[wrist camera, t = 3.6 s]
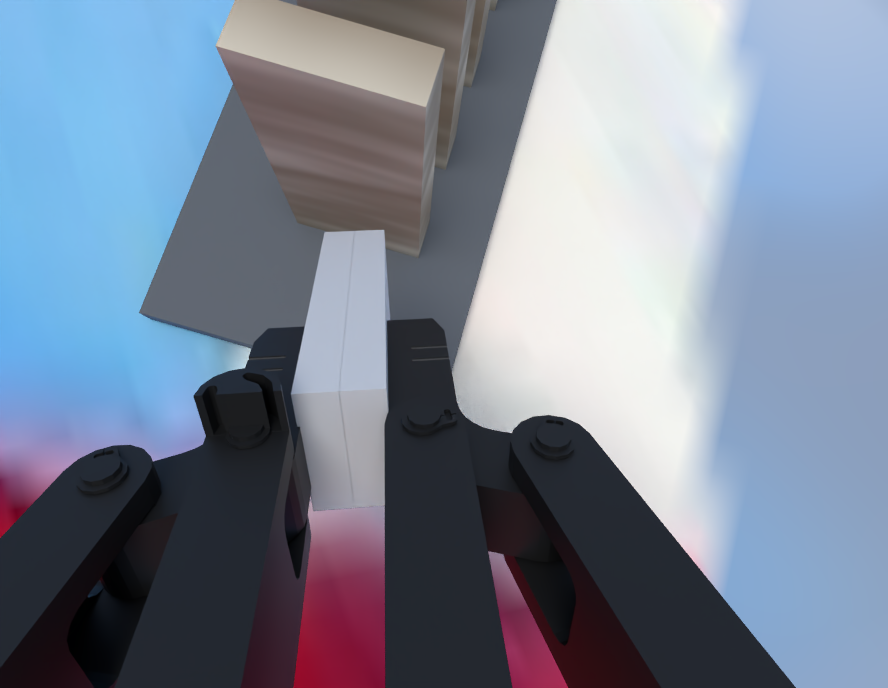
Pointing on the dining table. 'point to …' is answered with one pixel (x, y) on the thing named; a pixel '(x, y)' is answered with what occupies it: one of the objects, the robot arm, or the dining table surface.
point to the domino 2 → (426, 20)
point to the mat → (298, 246)
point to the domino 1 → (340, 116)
